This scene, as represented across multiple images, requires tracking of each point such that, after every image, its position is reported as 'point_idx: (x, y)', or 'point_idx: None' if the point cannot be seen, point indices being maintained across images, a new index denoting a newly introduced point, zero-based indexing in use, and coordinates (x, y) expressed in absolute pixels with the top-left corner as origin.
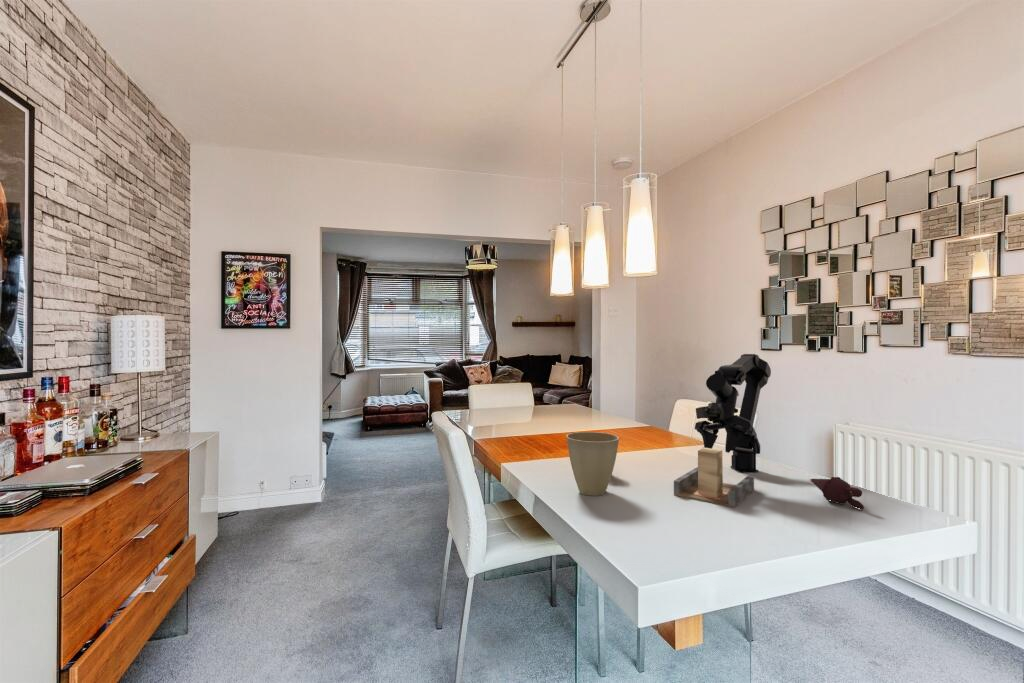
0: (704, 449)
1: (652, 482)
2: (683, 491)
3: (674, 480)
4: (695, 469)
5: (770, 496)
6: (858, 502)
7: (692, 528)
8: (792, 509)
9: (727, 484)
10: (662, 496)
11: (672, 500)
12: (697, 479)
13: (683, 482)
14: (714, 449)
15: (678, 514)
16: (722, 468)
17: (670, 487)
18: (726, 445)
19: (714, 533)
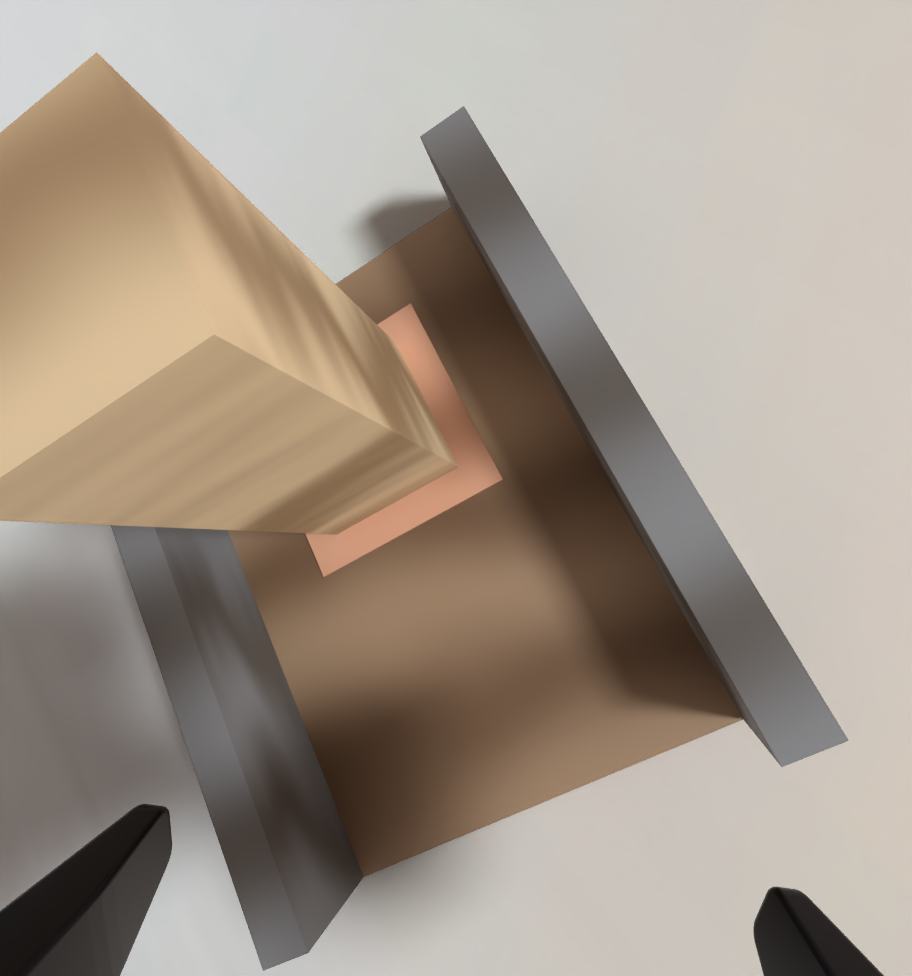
0: (99, 224)
1: (882, 197)
2: (490, 277)
3: (466, 116)
4: (736, 604)
5: (192, 840)
6: None
7: (76, 21)
8: (10, 714)
9: (494, 782)
10: (500, 97)
11: (405, 124)
12: (663, 575)
13: (476, 240)
14: (21, 408)
15: (217, 41)
16: (198, 528)
17: (669, 274)
18: (44, 904)
19: (7, 86)
